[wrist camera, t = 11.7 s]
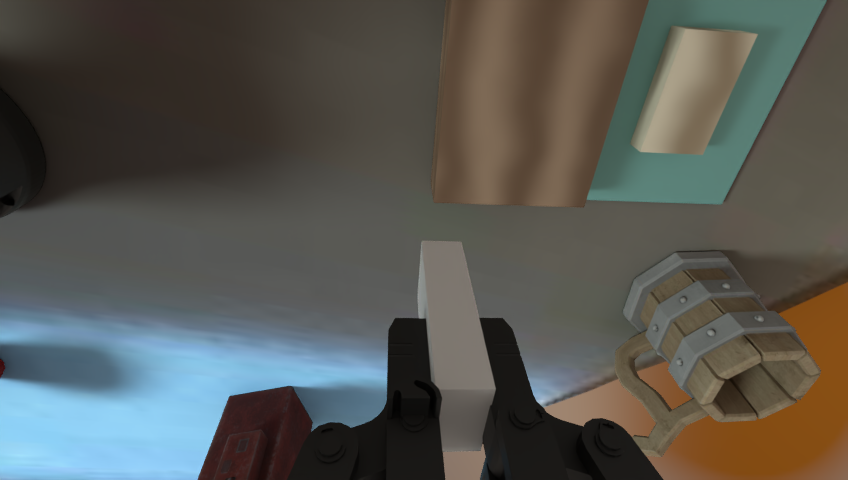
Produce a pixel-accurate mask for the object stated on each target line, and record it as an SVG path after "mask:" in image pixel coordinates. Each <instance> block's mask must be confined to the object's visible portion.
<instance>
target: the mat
mask: <svg viewBox="0 0 848 480" xmlns="http://www.w3.org/2000/svg"><path fill="white" fill-rule="evenodd" d="M826 1H827V0H649V2H648V5H647V8H646V11H645V14H644V18H643V21H642V24H641V27H640V30H639V34H638V37H637V40H636V43H635V46H634V49H633V53H632V56H631V59H630V62H629V65H628V69H627V72H626V75H625V78H624V81H623V85H622V88H621V91H620V94H619V97H618V101H617V104H616V107H615V110H614V113H613V117H612V120H611V123H610V126H609V129H608V132H607V136H606V139H605V142H604V145H603V148H602V152H601V155H600V158H599V161H598V164H597V168H596V171H595V174H594V177H593V180H592V184H591V187H590V190H589V193H588V196H587V199H586V200H607V201H636V202H666V203H696V204H722V203H723V201H724V199H725V197H726V195H727V193H728V191H729V189H730V187H731V185H732V183H733V181H734V179H735V178H736V176H737V174H738V172H739V170H740V168H741V166H742V164H743V162H744V160H745V158H746V156H747V154H748V152H749V150H750V148H751V147H752V145H753V143H754V141H755V139H756V137H757V135H758V133H759V131H760V129H761V127H762V125H763V123H764V121H765V119H766V117H767V115H768V114H769V112H770V110H771V108H772V106H773V104H774V102H775V100H776V98H777V96H778V94H779V92H780V90H781V88H782V86H783V84H784V82H785V81H786V79H787V77H788V75H789V73H790V71H791V69H792V67H793V65H794V63H795V61H796V59H797V57H798V55H799V53H800V51H801V49H802V48H803V46H804V44H805V42H806V40H807V38H808V36H809V34H810V32H811V30H812V28H813V26H814V24H815V22H816V20H817V18H818V17H819V15H820V13H821V11H822V9H823V7H824V5H825V3H826ZM671 26H684V27H698V28H712V29H725V30H739V31H745V32H750V33H755V34H758V35H757V37H756V40H755V42H754V44H753V46H752V48H751V50H750V53H749V55H748V57H747V59H746V61H745V64H744V66H743V68H742V70H741V72H740V75H739V77H738V79H737V81H736V83H735V86H734V88H733V90H732V92H731V94H730V96H729V99H728V101H727V103H726V105H725V107H724V110H723V112H722V114H721V116H720V118H719V121H718V123H717V125H716V127H715V129H714V132H713V134H712V136H711V138H710V140H709V142H708V145H707V147H706V149H705V151H704V153H703V155H694V154H673V153H651V152H640V151H638V150H637V149H636V148H634V147H633V146H632V145H631V144H630V142H631V139H632V136H633V134H634V131H635V128H636V125H637V122H638V119H639V117H640V114H641V111H642V108H643V105H644V102H645V99H646V97H647V94H648V91H649V88H650V85H651V82H652V79H653V77H654V74H655V71H656V68H657V65H658V62H659V60H660V57H661V54H662V51H663V48H664V45H665V42H666V40H667V37H668V34H669V31H670V28H671Z"/></svg>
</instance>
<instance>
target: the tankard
mask: <svg viewBox="0 0 848 480" xmlns="http://www.w3.org/2000/svg"><path fill="white" fill-rule="evenodd" d="M623 314H624V315H625V317H626V318H627V320H628V321H629V322H630V323H631V324H632V325H633V326H634V327H635V328H636V329H637V330H638V331H639V332H640V334H638V335H636V336H634V337H632V338H630V339H629V340H628V341H627V342H625V343H624V344H623V345H622V346H621V347H619V348H618V349H617V350H616V352H615V372H616V375H617V377H618V379H619V381H620V383H621V385H622V386H623V387H624V388H625V389H626V390H627V391H629V392H630V393H631V394H632V395H633V396H634V397H636V398H637V399H638V400H639V401H640V402H641V403H642V404H643V405H644V407H645V408H646V409H647V411H648V413H649V414H650V415H651V417H652V418H653V419H654V421H655V422H656V425H655V426H654V428H653V430H652V431H651V433H650V435H649V437H646V436H637V435H634V436H633V437H632V438H633V440H634V441H635V442H636V444H637V445H638V446H639V448H640V449H641V450H642V452H643V453H644V454H645V455H648V456H656V457H662V456H663V454H664V453H665V451H666V450H667V449H668V447H669V446H670V444H671V443H672V442H673V440H674V439H675V438H676V436H678V434H679V433H680V432H681V431H682V430H683V429H684V427H685V426H686V425H688V424H691V423H693V422H695V421H697V420H699V419H701V418H704V417H706V416H708V415H710V416H711V417H712V418H714V419H715V420H716V421H719V422H730V421H751V420H756V417H758V418H759V419H762V418H764V417H766V416H768V415H770V414H773V413H775V412H777V411H779V410H781V409H783V408H786V407H788V406H790V405H792V404H794V403H796V402H797V400H796V399H799V400H801V398H802V397H803V396H804V395H805V393H806V392H807V391H808V390H809V388H810V387H811V386H812V385H813V383H814V382H815V381H816V380H817V378H818V377H819V376H820V372H821V370H820V368H819V367H818V365H817V364H816V363H815V361H814V360H813V358H812V357H811V355H810V354H809V352H808V351H807V348H806V347H805V345H804V344H803V342H802V341H801V339H800V338H799V336H798V335H797V333H796V332H795V331H796V330H795V328H794V327H792V326H791V325H790V324H789V323H788V322H786V321H785V320H784V319H783V318H782V317H781V316H780V315H779V314H778V313H777V312H776V311H768V310H767V309H766V308H765V306H764V305H763V303H762V302H761V301H760V296H759V295H758V294H755V292H754V291H753V290H752V289H751V288H750V287H749V286H747V285H746V284H745V281H744V280H743V278H742V277H741V276H740V274H739V273H738V271H737V270H736V269H735V267H734V266H733V264H732V263H731V262H730V260H729V259H728V258H727V257H726V256H725V255H724V254H723V253H722V252H721V251H708V252H676V253H674V254H672V255H671V256H669V257H668V258H666V259H664V260H663V261H661V262H660V263H658V264H657V265H655V266H654V267H652V268H651V269H649V270H648V271H646V272H644V273H643V274H641V275H640V276H638V277H637V278H635V279H634V282H633V285H632V287H631V290H630V293H629V296H628V299H627V301H626V304H625V307H624V310H623ZM653 348H654V349H655V350H656V352H657V354H658V355H661V356H662V357H663V358H664V359H665V360H666V361H667V362H668V363H669V364H670V366H669V368H668V370H669V372H670V373H671V375H672V376H673V378H674V379H675V381H676V382H677V384H678V385H679V387H680V389H682V390H684V391H685V392H686V393H687V394H688V395H689V396H690V397H691V398H692V399H691V400H689V401H687V402H686V403H684V404H682V405H680V406H678V407H677V408H675V409H673V410H672V409H671V408H670V407H669V406H668V404H667V403H666V402H665V400H664V399H663V398H662V396H661V395H660V394H659V393H658V392H657V391H656V390H654V389H653V388H652V387H650V386H649V385H648V384H647V383H645V382H644V381H643V380H641V379H640V378H639V376H638V374H637V372H636V370H635V362H634V360H635V359H636V358H637V357H638V356H639V355H640V354H642V353H644V352H646V351H649V350H651V349H653Z"/></svg>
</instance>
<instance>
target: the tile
mask: <svg viewBox="0 0 848 480" xmlns="http://www.w3.org/2000/svg"><path fill="white" fill-rule="evenodd" d="M757 35H758V34H755V33H750V32H745V31H739V30H725V29H712V28H698V27H684V26H671V28H670V31H669V34H668V37H667V40H666V42H665V45H664V48H663V51H662V54H661V57H660V60H659V62H658V65H657V68H656V71H655V74H654V77H653V79H652V82H651V85H650V88H649V91H648V94H647V97H646V99H645V102H644V105H643V108H642V111H641V114H640V117H639V119H638V122H637V125H636V128H635V131H634V134H633V136H632V139H631V142H630V144H631V145H632V146H633V147H634V148H636V149H637V150H638V151H640V152H651V153H673V154H694V155H703V153H704V151H705V149H706V147H707V145H708V142H709V140H710V138H711V136H712V134H713V132H714V129H715V127H716V125H717V123H718V121H719V118H720V116H721V114H722V112H723V110H724V107H725V105H726V103H727V101H728V99H729V96H730V94H731V92H732V90H733V88H734V86H735V83H736V81H737V79H738V77H739V75H740V72H741V70H742V68H743V66H744V64H745V61H746V59H747V57H748V55H749V53H750V50H751V48H752V46H753V44H754V42H755V40H756V37H757Z"/></svg>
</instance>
